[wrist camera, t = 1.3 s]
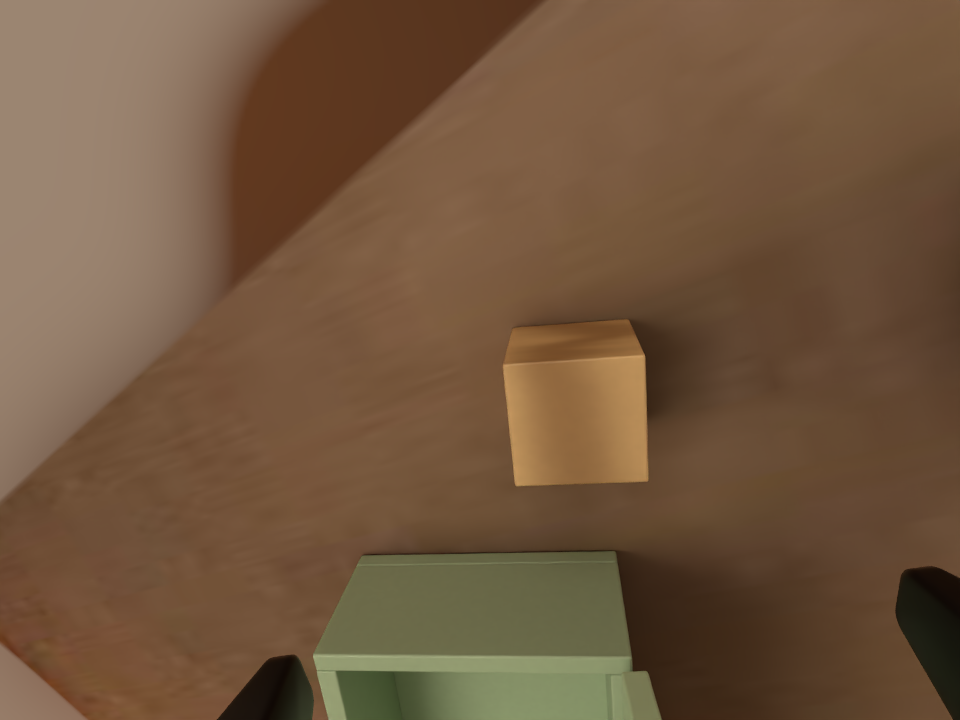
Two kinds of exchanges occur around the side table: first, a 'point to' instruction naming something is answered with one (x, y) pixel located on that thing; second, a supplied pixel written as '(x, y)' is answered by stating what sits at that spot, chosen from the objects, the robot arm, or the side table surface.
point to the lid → (638, 697)
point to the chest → (477, 638)
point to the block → (577, 404)
